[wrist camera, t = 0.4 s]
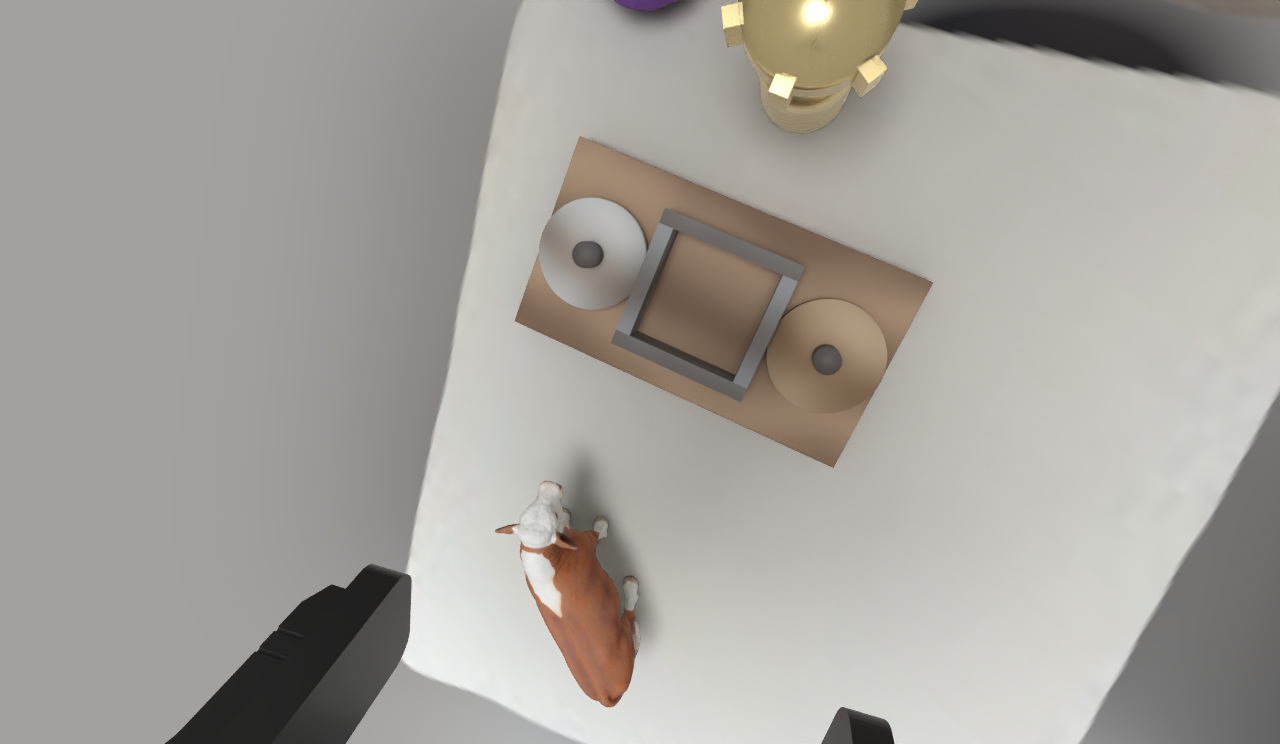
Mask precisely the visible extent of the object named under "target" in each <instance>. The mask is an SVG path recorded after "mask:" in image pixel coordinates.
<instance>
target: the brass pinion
mask: <svg viewBox="0 0 1280 744" xmlns="http://www.w3.org/2000/svg"><path fill="white" fill-rule="evenodd" d="M917 1H918V0H738V3H735V4H730V5H726V6H721V8H722V18H723V28H724V33H725V37H726V42H727V46H728V47H730V46H735V45H740V44H743V45H744V49H745V52H746V55H747V57H748V59H749V62H750V63H751V65H752V67H753V68H754V70H755V71H756V72H757V74H758V75H759V81H760V92H761V101H762V105H763V108H764V110H765V113H766V114H767V116H768V117H769V119H770V120H771V121H772V122H773V123H774V124H775V125H776V126H778V127H779V128H781V129H783V130H785V131H788V132H792V133H808V132H813V131H815V130H818V129H820V128H822V127H824V126H825V125H827V124H828V123H829V122H830V121H832V120H833V119H834V118H835V117H836V115H837V114H838V113H839V111H840V110H841V108H842V106H843V104H844V102H845V100H846V98H847V96H848V94H849V92H850V90H851V88H852V87H853V88H854V89H855V91H856V92H857V94H858V95H859V96H860V98H861V97H862V96H864V95H865V94H866V93H867V92H869V91H870V90H871V89H873V88H874V87H875V86H876V85H878V83H879V81H880V80H881V78H882V77H883V75H884V73H885V72H886V70H887V67H886V66H885V65H884V63H883V62H882V60H881V59H880V56H881V55H882V53H883V52H884V50H885V48H886V46H887V44H888V43H889V41H890V39H891V37H892V35H893V33H894V32H895V30H896V28H897V26H898V24H899V22H900V19H901V16H902V14H903V11H904V10H907V9H912V8H914V6H915V4H916V3H917Z"/></svg>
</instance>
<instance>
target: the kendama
mask: <svg viewBox="0 0 1280 744" xmlns="http://www.w3.org/2000/svg"><path fill="white" fill-rule="evenodd" d="M615 1H616V2H617V3H619V4H620V5H622V6H625V7H628V8H633V9H638V10H645V11H652V10H657V9H659V8H662V7H664V6H666V5H669V4H671V3H674V2H676V1H677V0H615Z"/></svg>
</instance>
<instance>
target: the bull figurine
mask: <svg viewBox="0 0 1280 744" xmlns="http://www.w3.org/2000/svg"><path fill="white" fill-rule="evenodd" d="M562 497H563V488H562V486H561V485H559V484H557V483H555V482H552V481H544V482H542V483H541V484H540V487H539V491H538V496H537V498H536V500H535V501H534V502H533V503H532V504H531V505H530V506H529V507H528V508H527V509H526V510H525V511H524V512H523V513H522V514H521V517H520V523H519V524H513V525H508V526H505V527H502V528H498V529H497V530H495V532H496V533H506V534H516V535H518V537H519V538H520V539H521V546H520V557H521V561H522V565H523V568H524V570H525V575H526V581H527V585H528V587H529V590H530V591H531V593H532V595H533V597H534V599H535V600H536V603H537V606H538V608H539V611H540V613H541V615H542V617H543V619H544V621H545V623H546V625H547V627H548V629H549V631H550V633H551V635H552V636H553V638H554V640H555V641H556V643H557V645H558V647H559V648H560V650H561V652H562V654H563V656H564V658H565V660H566V663H567V665H568V667H569V669H570V671H571V673H572V674H573V676H574V678H575V679H576V681H577V683H578V684H579V686H580V687H581V689H582V690H583V691H584V692H585V694H586V695H588V696H589V697H590V698H591V699H593V700H596V701H599V702H600V703H601V704H602V705H604V706H605V707H613V706H615V705H616V704H617V703H618V702H619V700H620V699H621V697H622V695H623V693H624V692H625V691H626V690H627V689H628V687H629V684H630V681H631V677H632V673H633V668H634V660H635V657H636V654H637V652H638V649H639V646H640V635H639V625H638V622H637V621H635V616H634V606H635V604H636V602H637V601H638V599H639V596H638V595H637V590H638V585H639V584H638V581H637V580H636V579H635V578H634V577H626V578H625V579H624V582H623V585H624V596H625V609H624V613H623V615H622V617H621V618H620V601H619V596H618V593H617V590H616V587H615V585H614V583H613V581H612V579H611V578H610V577H609V575H608V574H607V573H606V572H605V571H604V570H603V569H602V568H601V566H600V564H599V562H598V560H597V558H596V554H595V552H596V546H597V544H598V540H599V539H601V538H606V537H607V535H608V534H607V529H608V526H609V523H608V520H607V519H606V518H605V517H601V516H599V517H597V518H596V519H595V523H594V527H593V530H589V531H588V532H586V531H585V532H581V531H579V530H576V529H571V528H570V525H569V519H570V512H569V511H568V510H567V509H565V508H562V506H561V499H562Z"/></svg>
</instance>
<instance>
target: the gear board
mask: <svg viewBox="0 0 1280 744" xmlns="http://www.w3.org/2000/svg"><path fill="white" fill-rule="evenodd" d="M932 284H933V282H931V281H928V280H926V279H923V278H921V277H918V276H916V275H914V274H911V273H909V272H906V271H904V270H902V269H899V268H897V267H894V266H892V265H890V264H887V263H885V262H882V261H880V260H877V259H875V258H873V257H870V256H868V255H865V254H863V253H861V252H858V251H856V250H853V249H851V248H848V247H846V246H844V245H841V244H839V243H836V242H834V241H832V240H829V239H827V238H824V237H822V236H820V235H817V234H815V233H812V232H810V231H807V230H805V229H803V228H800V227H798V226H795V225H793V224H791V223H788V222H786V221H783V220H781V219H778V218H776V217H774V216H771V215H769V214H766V213H764V212H762V211H759V210H757V209H754V208H752V207H750V206H747V205H745V204H742V203H740V202H737V201H735V200H733V199H730V198H728V197H725V196H723V195H721V194H718V193H716V192H713V191H711V190H708V189H706V188H704V187H701V186H699V185H696V184H694V183H692V182H689V181H687V180H684V179H682V178H680V177H677V176H675V175H672V174H670V173H667V172H665V171H663V170H660V169H658V168H655V167H653V166H651V165H648V164H646V163H643V162H641V161H638V160H636V159H634V158H631V157H629V156H626V155H624V154H622V153H619V152H617V151H614V150H612V149H610V148H607V147H605V146H602V145H600V144H597V143H595V142H593V141H590V140H588V139H585V138H583V137H581V136H580V137H579V140H578V143H577V145H576V148H575V151H574V154H573V157H572V160H571V162H570V165H569V168H568V171H567V174H566V177H565V179H564V182H563V185H562V188H561V191H560V194H559V196H558V199H557V202H556V205H555V208H554V211H553V213H552V216H551V218H550V220H549V221H548V223H547V225H546V226H545V229H544V231H543V233H542V237H541V240H540V247H539V253H538V256H537V259H536V262H535V264H534V267H533V270H532V273H531V276H530V279H529V282H528V284H527V287H526V290H525V293H524V296H523V299H522V301H521V304H520V307H519V310H518V313H517V316H516V318H515V321H516V322H518V323H520V324H522V325H524V326H527V327H529V328H531V329H533V330H535V331H537V332H540V333H542V334H544V335H546V336H548V337H550V338H553V339H555V340H557V341H559V342H561V343H563V344H566V345H568V346H570V347H572V348H574V349H576V350H579V351H581V352H583V353H585V354H587V355H589V356H592V357H594V358H596V359H598V360H600V361H603V362H605V363H607V364H609V365H611V366H613V367H616V368H618V369H620V370H622V371H624V372H626V373H629V374H631V375H633V376H635V377H637V378H639V379H642V380H644V381H646V382H648V383H650V384H652V385H655V386H657V387H659V388H661V389H663V390H666V391H668V392H670V393H672V394H674V395H676V396H679V397H681V398H683V399H685V400H687V401H689V402H692V403H694V404H696V405H698V406H700V407H702V408H705V409H707V410H709V411H711V412H713V413H715V414H718V415H720V416H722V417H724V418H726V419H728V420H731V421H733V422H735V423H737V424H739V425H742V426H744V427H746V428H748V429H750V430H752V431H755V432H757V433H759V434H761V435H763V436H765V437H768V438H770V439H772V440H774V441H776V442H778V443H781V444H783V445H785V446H787V447H789V448H791V449H794V450H796V451H798V452H800V453H802V454H805V455H807V456H809V457H811V458H813V459H815V460H818V461H820V462H822V463H824V464H826V465H828V466H831V467H833V468H834V466H835V464H836V462H837V460H838V458H839V456H840V455H841V453H842V451H843V449H844V447H845V445H846V443H847V442H848V440H849V438H850V436H851V434H852V432H853V430H854V429H855V427H856V425H857V423H858V421H859V419H860V417H861V416H862V414H863V412H864V410H865V408H866V406H867V404H868V403H869V401H870V399H871V397H872V395H873V393H874V391H875V390H876V388H877V387H878V385H879V383H880V382H881V380H882V378H883V375H884V373H885V371H886V369H887V367H888V365H889V364H890V362H891V360H892V358H893V356H894V354H895V352H896V351H897V349H898V347H899V345H900V343H901V341H902V340H903V338H904V336H905V334H906V332H907V330H908V328H909V327H910V325H911V323H912V321H913V319H914V317H915V315H916V314H917V312H918V310H919V308H920V306H921V304H922V302H923V301H924V299H925V297H926V295H927V293H928V291H929V289H930V288H931V286H932Z"/></svg>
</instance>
